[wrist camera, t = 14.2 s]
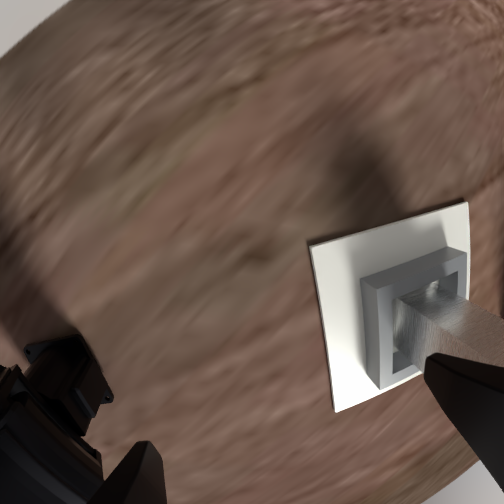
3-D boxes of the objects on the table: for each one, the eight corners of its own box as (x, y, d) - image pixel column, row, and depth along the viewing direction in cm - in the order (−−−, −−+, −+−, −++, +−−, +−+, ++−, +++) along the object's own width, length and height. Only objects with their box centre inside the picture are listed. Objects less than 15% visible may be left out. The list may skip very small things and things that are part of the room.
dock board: (331, 404, 25) (345, 429, 22) (305, 244, 21) (325, 256, 18) (456, 344, 27) (476, 358, 23) (459, 200, 23) (487, 205, 19)
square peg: (388, 341, 23) (487, 434, 11) (391, 294, 22) (512, 377, 9) (427, 326, 24) (526, 400, 11) (431, 281, 22) (548, 345, 10)
